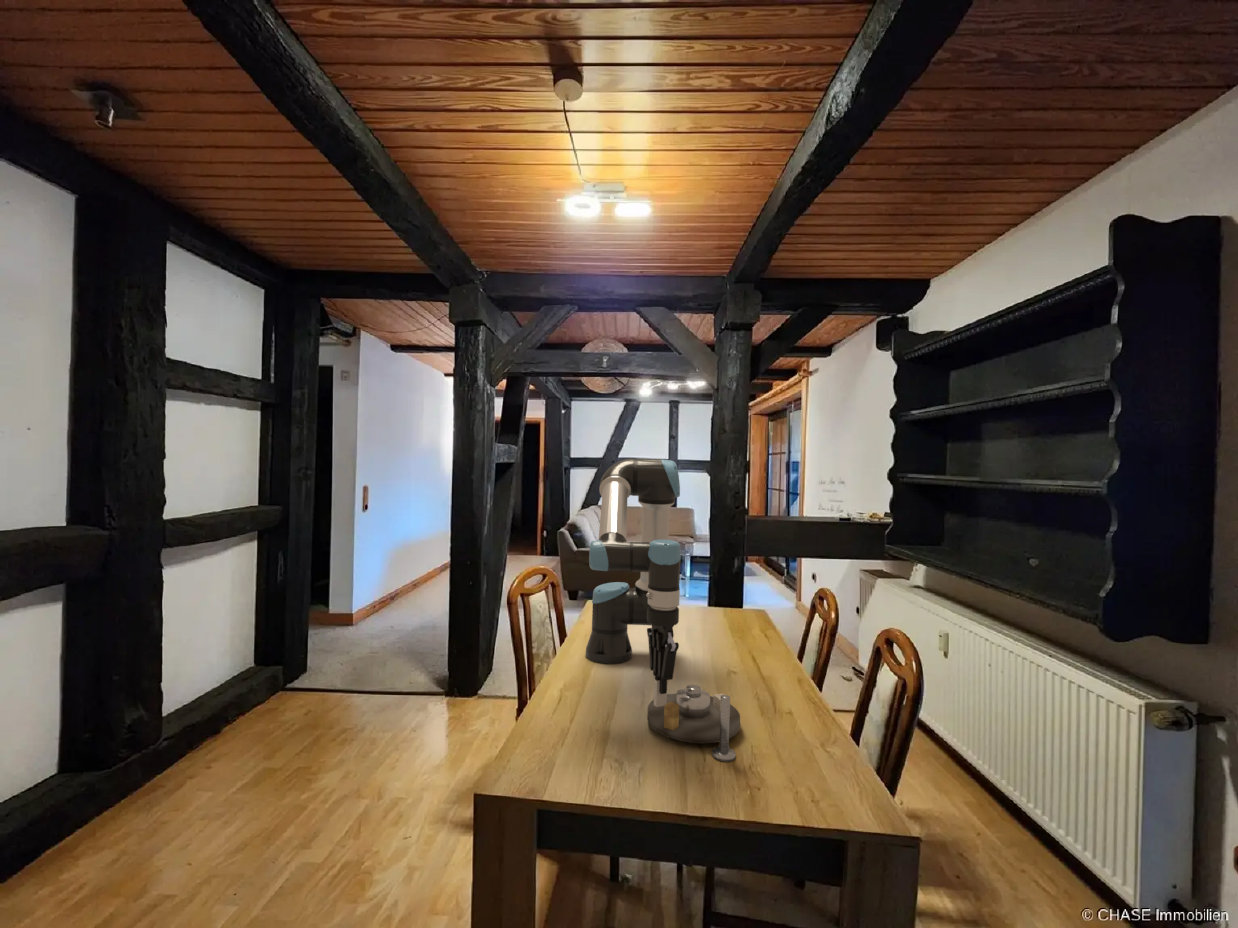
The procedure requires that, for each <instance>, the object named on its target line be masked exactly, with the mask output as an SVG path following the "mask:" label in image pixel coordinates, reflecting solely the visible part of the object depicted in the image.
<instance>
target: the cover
mask: <svg viewBox="0 0 1238 928" xmlns="http://www.w3.org/2000/svg"><path fill="white" fill-rule="evenodd" d="M676 693H677V700H676V704H679V714H680V715H681V716H684V717H687V718H692V719H700V718H705V717H707V716H708V715H709V714H710V696H711V695H710V693H709V692H708V691H706V690H705V689H702V688H701V686H699V685H696V684H689V685H686V687H684V688H680V689H678V690H677V691H676Z"/></svg>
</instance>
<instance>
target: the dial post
mask: <svg viewBox="0 0 1238 928" xmlns="http://www.w3.org/2000/svg"><path fill="white" fill-rule="evenodd" d="M712 697H713V706H714V707H715V708H717V709H718V710H719V711H720V739H719V742H718V744H719V745H718V746H715V747H713V748H712V750H711V756H712V757H713V759H714V760H715V761H718V762H722V763H731V762H733V761H735V760H736V752H735V750H734V749H733V748H731V747H730V746H729V745H730V742H729V741H730V738H729V719H730V704H731V696H730V695H727V694H724V693H716V694H713V696H712Z"/></svg>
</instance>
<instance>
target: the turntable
mask: <svg viewBox="0 0 1238 928" xmlns="http://www.w3.org/2000/svg"><path fill="white" fill-rule="evenodd" d="M676 700H677V692H675V693H667V704H665V706H660V707H656V706H655V705H654V699H653V700H652V701H651V702H650V703H649V704H648V706H647V719H646V720H647V723H648V724H649V726H650V727H651V728H652V729H654V731H655V732H657V733H658V734H660V735H663V736H665V737H667V738H669V739H673V740H676V741H679V742H684V743H691V744H714V743H719V739H720V711H719V710H718V709H717V708H715V707H714V706H713V696H711V695H710V714H709V715H708V716H707V717H705V718H700V719H692V718H687V717H684V716H681V715H680V714H679V704H676ZM740 727H741V715H740V712H739V711H738V709H737V708H736V707H735V706H734V705H732V704H731V703H730V719H729V739H731V738H732V737H735V736H736V735H737V734H738V733H739V731H740V729H741V728H740Z"/></svg>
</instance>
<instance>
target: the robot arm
mask: <svg viewBox="0 0 1238 928" xmlns="http://www.w3.org/2000/svg"><path fill="white" fill-rule="evenodd" d="M679 477H680V476H679V469H678V465H677V462H675V461H674V460H668V459H663V458H662V459H661V458H659V459H655V458H654V459H652V458H651V459H649V458H647V459H646V458H639V459H637V458H626V459H625V458H624V459H622V460H619V461H617V462H615V463H614V464H612V465H611V466H610V467H609V468H608V469H607V470H606V471H605V472H604V474H603V475H602V477H601V478H600V482H599V490H598V491H599V495H600V496H601V505H600V507H601V508H600V517H599V518H600V519H599V530H598V539H597V540H591V542H590V543H589V544H590V545H589V555H588V563H589V565H588V566H589V568H590V569H591V570H593V571H601V572H631V573H640V577H639V579H638V580H636V582H635V584H634V585H635V587H630V585H629V583H627V582H621V581H616V582H615V581H614V582H607V583H602V584H600V585H598V586H596V587H595V588H594V589H593V591H592V600H591V604H592V609H591V610H592V612H591V613H592V615H591V616H592V617H591V632H590V636H589V638H588V641H587V644H586V647H585V657H586V658H587V657H588V658H589V659H588V658H587V659H588V660H590V661H592V662H594V661H596V662H595V663H599V662H600V663H599V664H609V665H610V664H612V665H613V664H620V663H625V662H627V661H630V660H631V659H632V657H633V648H632V645H631V641H630V638H629V633H628V626H629V625H630V626H631V625H632V626H651V627H648V628H646V633H647V639H648V653H649V654H648V655H649V656H648V657H649V670H650V671H652V675H653V677H654V679H653V680H654V682H653V700H654V705H655V706H656V707H660V706H665V704H667V695H668V681H669V680H673V679H674V670H675V666H676V664H675V663H676V657H677V652H678V650H679V646H680V644H679V642H675V641H674V635H675V634H674V629H673V628H674V627H675V626H676V625H678V624H679V621H680V620H679V619H680V617H679V616H680V608H679V606H680V593H681V592H680V591H681V589H680V578H681V576H680V575H681V559H682V554H681V544H680V543H679V542H678V541H677V540H673V539H669V533H670V532H669V531H670V510H671V507H672V506H673V505H675V501H676V498H679V497H680V496H681V484H680V478H679ZM630 496H636V497H637V501H638V504H640V505H641V506H642V524H641V541H628V540H627V539H628V536H627V535H628V533H627V532H628V499H629V497H630Z"/></svg>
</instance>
